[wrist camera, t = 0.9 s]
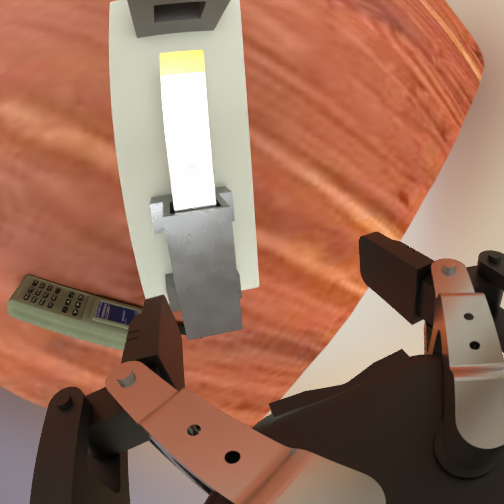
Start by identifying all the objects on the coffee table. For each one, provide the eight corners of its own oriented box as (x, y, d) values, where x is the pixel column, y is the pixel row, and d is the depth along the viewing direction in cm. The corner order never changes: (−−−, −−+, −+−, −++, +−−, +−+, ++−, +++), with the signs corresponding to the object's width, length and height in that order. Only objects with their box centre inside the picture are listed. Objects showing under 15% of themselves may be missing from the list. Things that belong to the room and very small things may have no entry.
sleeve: (170, 296, 35) (174, 342, 27) (151, 197, 30) (146, 220, 22) (235, 284, 36) (255, 326, 29) (225, 186, 32) (246, 204, 24)
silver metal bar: (191, 305, 31) (194, 323, 28) (160, 63, 21) (159, 53, 18) (222, 299, 32) (229, 317, 29) (198, 59, 22) (203, 49, 19)
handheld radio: (26, 269, 30) (205, 317, 39) (26, 290, 31) (198, 336, 40) (6, 297, 24) (213, 351, 33) (7, 320, 25) (205, 370, 34)
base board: (148, 301, 36) (147, 307, 34) (111, 7, 21) (110, 2, 20) (255, 281, 39) (259, 286, 38) (235, -5, 24) (238, -10, 23)
